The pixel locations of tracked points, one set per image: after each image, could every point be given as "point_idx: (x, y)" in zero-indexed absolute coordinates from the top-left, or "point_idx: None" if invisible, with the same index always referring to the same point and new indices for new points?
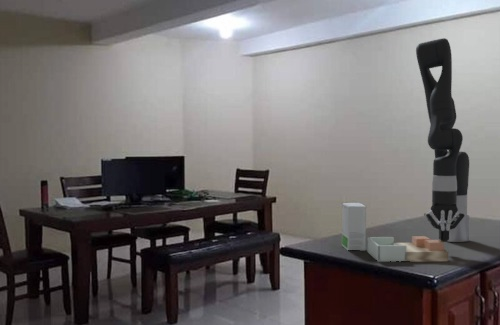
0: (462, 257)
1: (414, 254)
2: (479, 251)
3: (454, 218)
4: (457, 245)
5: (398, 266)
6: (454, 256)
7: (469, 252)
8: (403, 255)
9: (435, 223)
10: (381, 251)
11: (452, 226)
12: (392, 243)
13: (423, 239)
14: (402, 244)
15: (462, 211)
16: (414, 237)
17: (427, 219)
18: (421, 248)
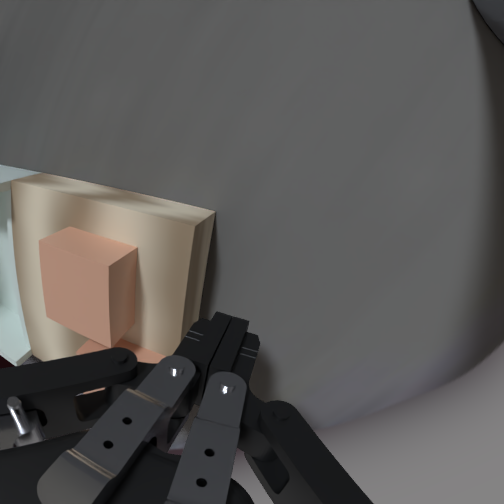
0: (292, 375)
1: None
2: (476, 299)
3: (310, 493)
4: (485, 117)
5: (34, 361)
6: (268, 351)
7: (415, 305)
8: None
9: (91, 419)
10: None
11: (250, 455)
12: (6, 194)
13: (78, 330)
14: (31, 230)
15: None
16: (43, 277)
17: (23, 365)
18: (83, 338)
